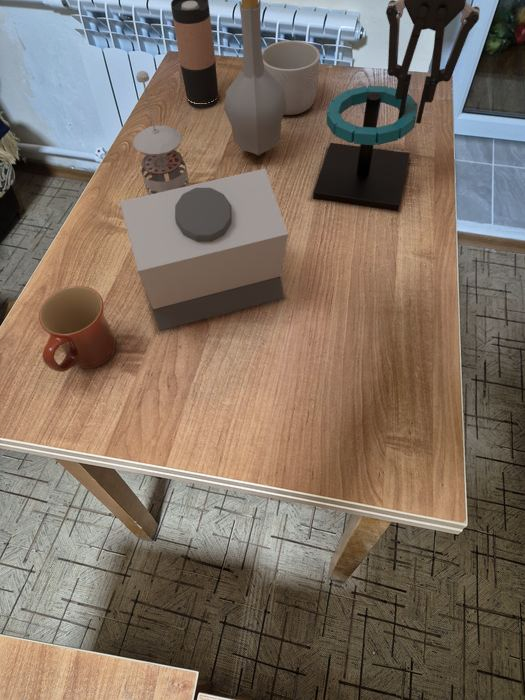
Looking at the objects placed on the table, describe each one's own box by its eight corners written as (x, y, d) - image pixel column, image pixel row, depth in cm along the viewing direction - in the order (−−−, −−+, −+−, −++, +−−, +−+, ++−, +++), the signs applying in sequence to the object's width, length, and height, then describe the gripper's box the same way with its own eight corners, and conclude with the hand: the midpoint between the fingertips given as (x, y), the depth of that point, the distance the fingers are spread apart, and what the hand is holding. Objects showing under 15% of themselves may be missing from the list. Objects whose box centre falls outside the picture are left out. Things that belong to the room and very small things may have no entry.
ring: (419, 98, 92) (421, 87, 90) (410, 147, 84) (412, 136, 82) (336, 94, 95) (336, 84, 93) (320, 141, 87) (320, 130, 85)
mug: (83, 323, 82) (60, 279, 73) (132, 336, 80) (114, 293, 71) (42, 384, 76) (11, 345, 67) (94, 400, 74) (69, 362, 65)
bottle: (277, 174, 101) (275, 5, 76) (223, 167, 103) (203, -1, 78) (290, 141, 107) (292, -26, 82) (239, 135, 109) (225, -31, 84)
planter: (261, 121, 112) (259, 70, 103) (263, 90, 119) (261, 40, 110) (317, 120, 111) (320, 69, 102) (316, 89, 118) (319, 39, 109)
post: (408, 159, 102) (427, 76, 89) (398, 211, 94) (417, 128, 80) (329, 148, 105) (336, 67, 92) (312, 198, 97) (317, 116, 83)
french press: (148, 226, 94) (109, 93, 73) (144, 186, 101) (107, 54, 80) (200, 217, 95) (177, 83, 74) (193, 179, 101) (169, 46, 81)
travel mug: (185, 93, 119) (168, -4, 103) (217, 88, 120) (206, -9, 103) (188, 111, 115) (171, 12, 99) (221, 106, 116) (211, 7, 99)
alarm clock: (258, 243, 91) (252, 139, 74) (287, 308, 82) (288, 208, 65) (144, 271, 88) (111, 170, 71) (162, 342, 79) (129, 246, 62)
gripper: (506, -56, 68) (457, 110, 88) (390, -63, 71) (368, 100, 91) (505, -34, 64) (454, 136, 84) (382, -42, 67) (361, 124, 87)
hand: (409, 117), depth 87 cm, fingers open, 2 cm apart
